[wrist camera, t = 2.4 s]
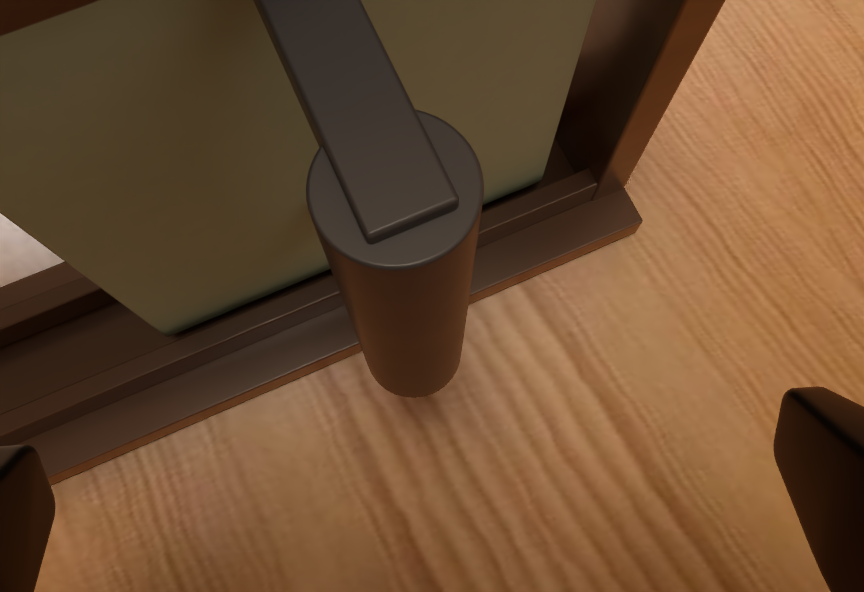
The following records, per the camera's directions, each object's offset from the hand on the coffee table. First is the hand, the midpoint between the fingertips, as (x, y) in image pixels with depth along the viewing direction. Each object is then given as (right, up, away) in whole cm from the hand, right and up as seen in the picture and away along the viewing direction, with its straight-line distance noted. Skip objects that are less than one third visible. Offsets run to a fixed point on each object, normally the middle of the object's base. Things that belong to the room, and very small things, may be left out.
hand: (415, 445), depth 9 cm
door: (-1, +1, +9) cm, 10 cm away
